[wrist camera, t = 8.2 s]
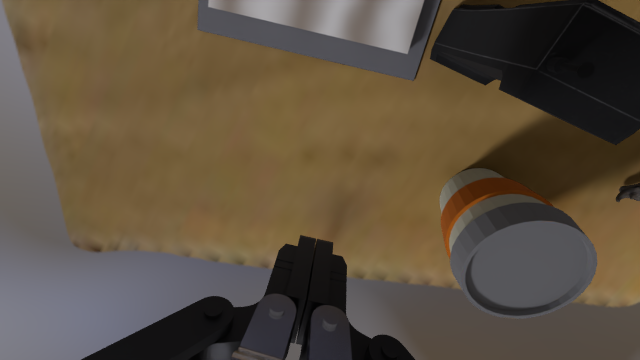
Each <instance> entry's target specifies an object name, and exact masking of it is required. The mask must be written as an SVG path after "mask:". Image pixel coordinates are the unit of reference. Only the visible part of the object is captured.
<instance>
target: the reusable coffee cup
mask: <svg viewBox="0 0 640 360" xmlns="http://www.w3.org/2000/svg"><path fill="white" fill-rule="evenodd" d="M440 207H441V212H442V216H441V228H442V232H443V237H444V242H445V247H446V250H447V254H448V256H449V258H450V266H451V269H452V272H453V275H454V276H455V278H456V280H457V282H458V283H459V285H460V287H461V288H462V290H463V292H464V293H465V295H466V297H467V299H468V300H469V301H470V302H471V303H472V304H473V305H474V306H476V307H477V308H479V309H480V310H482V311H483V312H486V313H488V314H491V315H494V316H498V317H502V318H513V319H520V318H530V317H536V316H541V315H544V314H547V313H550V312H553V311H555V310H558V309H560V308H562V307H564V306H566V305H567V304H569V303H570V302H572V301H573V300H575V299H576V298H577V297H578V296H579V295H580V294H581V293H583V292H584V290H585V289H586V288H587V287H588V285H589V284H590V283H591V281H592V279H593V277H594V275H595V271H596V267H597V254H596V251H595V248H594V246H593V244H592V243H591V241H590V240H589V239H588V237H587V236H586V235H585V234H584V232H583V231H582V230H581V229H580V228H579V227H578V225H577V224H576V223H575V222H574V221H573V219H572V218H571V217H569V216H568V215H567V214H566V213H564V212H563V211H561V210H559V209H557V208H555V207H553V205H552V204H551V203H549V202H548V201H547V200H546V199H544V198H543V197H541V196H540V195H538V194H536V193H535V192H533V191H532V190H530V189H528V188H527V187H525V186H524V185H522V184H520V183H518V182H516V181H514V180H511V179H506V178H504V177H503V176H501V175H500V174H498V173H496V172H494V171H492V170H489V169H485V168H473V169H468V170H465V171H462V172H460V173H458V174H456V175H455V176H453V177H452V178H451V179H450V180H449V181H448V182H447V183H446V184H445V186H444V187H443V189H442V191H441V194H440Z"/></svg>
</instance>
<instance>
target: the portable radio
mask: <svg viewBox="0 0 640 360" xmlns="http://www.w3.org/2000/svg"><path fill="white" fill-rule="evenodd" d="M430 59H431V60H433V61H435V62H438V63H440V64H442V65H444V66H446V67H448V68H450V69H452V70H454V71H456V72H458V73H460V74H462V75H465V76H467V77H469V78H471V79H473V80H475V81H477V82H479V83H481V84H484V85H486V84H488V83H490V82H491V81H493V80H495V79H498V80H501V84H500V88H499V90H501V91H503V92H505V93H508V94H510V95H512V96H514V97H516V98H518V99H520V100H522V101H524V102H526V103H528V104H530V105H532V106H535V107H537V108H539V109H541V110H543V111H545V112H547V113H549V114H551V115H553V116H555V117H557V118H559V119H561V120H564V121H566V122H568V123H570V124H572V125H574V126H576V127H578V128H580V129H582V130H584V131H586V132H588V133H591V134H593V135H595V136H597V137H599V138H602V139H604V140H606V141H608V142H610V143H612V144H615V145H617V144H618V143H620V142H621V141H623V140H624V139H626V138H627V137H629V136H631V135H632V134H634V133H635V132H636V131H637V130H639V129H640V22H638V21H636V20H634V19H632V18H630V17H628V16H626V15H625V14H623V13H621V12H619V11H617V10H615V9H613V8H611V7H610V6H608V5H606V4H604V3H602V2H600V1H598V0H565V1H555V2H545V3H535V4H525V5H519V6H516V7H515V8H504V7H502V6H500V5H464V4H463V5H461V6H460V7H459V8H458V9H457V8H454V9H453V10H452V12H451V14H450V16H449V18H448V19H447V21H446V23H445V25H444V27H443V28H442V30H441V32H440V34H439V35H438V37H437V39H436V41H435V43H434V46H433V48H432V51H431V56H430Z"/></svg>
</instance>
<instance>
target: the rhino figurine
mask: <svg viewBox="0 0 640 360" xmlns="http://www.w3.org/2000/svg"><path fill="white" fill-rule="evenodd" d="M619 191H620V193H619V194H618V195H617V197H616V201H617V202H620V200H621V199H623V198H630V199H634V200H637V201H640V183H638V184H634V185H628V186H622V187H620V189H619Z"/></svg>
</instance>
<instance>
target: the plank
mask: <svg viewBox="0 0 640 360" xmlns="http://www.w3.org/2000/svg"><path fill="white" fill-rule="evenodd" d="M423 3H424V0H209V1H208V7H211V8H215V9H219V10H223V11H228V12H232V13H236V14H240V15H245V16H249V17H253V18H257V19H261V20H266V21H270V22H274V23H278V24H282V25H287V26H291V27H295V28H299V29H304V30H308V31H312V32H316V33H320V34H325V35H329V36H333V37H337V38H341V39H346V40H350V41H354V42H358V43H363V44H367V45H371V46H375V47H379V48H384V49H388V50H392V51H396V52H401V53H405V54H408V51H409V48H410V44H411V41H412V38H413V35H414V32H415V28H416V25H417V22H418V19H419V15H420V12H421V9H422V6H423Z"/></svg>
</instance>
